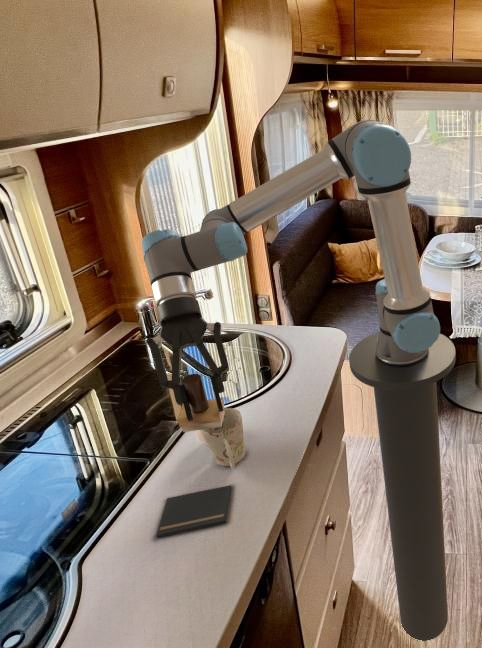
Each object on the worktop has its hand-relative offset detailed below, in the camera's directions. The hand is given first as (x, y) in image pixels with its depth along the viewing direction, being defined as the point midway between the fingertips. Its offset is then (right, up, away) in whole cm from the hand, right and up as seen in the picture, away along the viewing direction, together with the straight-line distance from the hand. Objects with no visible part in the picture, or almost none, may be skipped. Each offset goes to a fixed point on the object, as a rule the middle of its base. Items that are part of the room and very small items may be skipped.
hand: (205, 414), depth 93 cm
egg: (-8, -11, +21) cm, 25 cm away
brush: (-2, -3, +5) cm, 6 cm away
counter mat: (-3, -19, +3) cm, 20 cm away
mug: (-1, -14, +15) cm, 20 cm away
